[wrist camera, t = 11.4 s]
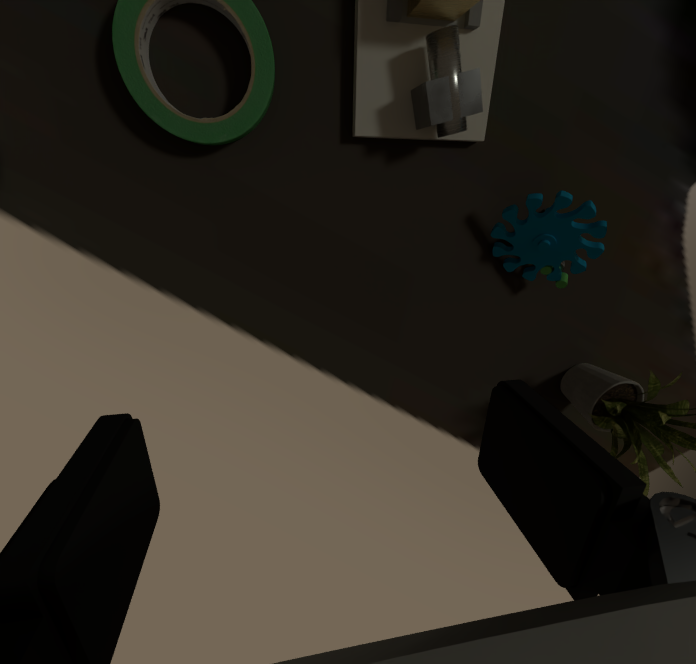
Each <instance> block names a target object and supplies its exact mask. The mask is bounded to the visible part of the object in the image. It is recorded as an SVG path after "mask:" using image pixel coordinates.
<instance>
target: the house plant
mask: <svg viewBox="0 0 696 664" xmlns="http://www.w3.org/2000/svg"><path fill="white" fill-rule="evenodd" d="M650 372H651V371H650ZM681 374H682V373H681ZM681 374H680V375H679V376H678V377H677V378H676V379H675V380H674V381H673V382H671V383H670V384H668V385H666V386H664V387H661V388H660V385H661V384H660V381H659V380H658V378H657V377H656V376H655V375H654V374H653V373H652V372H651V374H650V378H649V384H648V391H647V392H644V391H643V388H642V387H641V386H640V384H638V383H636V382H634V381H632V380H629V379H627V378H624V377H622V376H619V375H616V374H614V373H611V372H609V371H606V370H604V369H601V368H599V367H596V366H593V365H591V364H588V363H581V364H578V365H575V366H573V367H572V368H570V369H569V370H568V371H567V372H566V373H565V375H564V376H563V378H562V380H561V384H560V389H561V392H562V393H563V394H564V395H565V397H566V398H567V399H568V400H569V401H570V402H571V403H572V404H573V405H574V407H575V408H576V409H577V410H578V411H579V412H580V413H581V414H582V415H583V416H584V418H585V419H586V420H587V421H588V422H589V423H590V424H591V425H592V426H593V427H594V428H595V429H596V430H599V431H605V432H608V431H611V433H612V449H611V453H610V454H611V455H612V456H613V457H615V456H616V454H617V452H618V441H617V438H623V440H624V448H623V450H622V451H621V452H620V453H619V454H618V455H617V456H616V457H615V458H618V457H620V456H621V455H622V454H624V453H625V452H626V451H627V450H628V449H629V448H630V446H631V444H633V447H634V450H635V453H636V456H637V458H636V459H635V460H634V462H632V463H630V464H635V463H637V461H638V467H639V475H640V478H641V480H642V481H643V482H644V483H646V484H647V485H646V488H645V490H644V492H643V494H644V495H645V496H646V497H647V495H648V490H649V476H648V467H647V462H646V459H645V455H644V454H643V452H642V450H641V445H642V442H643V443H644V445H645V446H646V447H647V449H648V450H649V451H650V452H651V454H652V455H653V456H654V458H655V459H656V461H657V462H658V464H659V465H660V466H661V468H662V469H663V470H664V471H665V472H666V473H667V474H668V475H669V476H670V477H671V478H672V479H673V480H674V481H675V482H677V483H678V484H679V485H680V486H682V485H681V483H680V482H679V480H678V479H677V478H676V476H675V475H674V473H673V471H672V469H671V468H670V467H669V466H668V464H667V463H666V462H665V461H664V459H663V458H662V457H661V455H662V454H663V453H664V447H663V445H662V444H661V443H660V442H659V441H658V440H657V439H656V438H655V437H654V436H653V435H652V434H650V433H649V432H648V431H647V430H646V429H645V428H643V427H642V426H641V425H643V426H644V427H646V428H647V429H649V430H650V431H651V432H652V433H653V434H654V435H655V436H657V437H658V438H659V439H661V440H662V441H663V442H664V443H665V444H666V445H667V446H668V447H669V448H670V449H671V451H672V453H673V447H672V444H671V442H673V443H676V444H678V445H680V446H682V447H685V448H688V449H691V450H696V438H694V437H692V436H690V435H688V434H686V433H683V432H681V431H678V430H676V429H673V428H671V427H669V426H667V425H664V424H665V423H668V424H673V425H678V426H684V427H689V428H693V429H696V423H688V422H683V421H678V420H672V419H670V418H672V417H681V416H692V415H696V414H687V412H688V411H689V410H693V409H689V402H688V400H683V401H679V402H676V403H673V404H668V405H656V404H649V403H644V402H646V401H649V400H651V399H653V398H654V397H655V396H657V394H658V392H659V389H663V388H666V387H669V386H671V385H673V384H674V383H675V382H676V381H677V380H678V379H679V378H680V376H681ZM644 393H648V397H647V400H645V401H644ZM695 409H696V408H695ZM637 422H638V423H640V424H641V425H639V424H638V423H637ZM670 441H671V442H670ZM676 449H677V448H676ZM677 450H678V449H677ZM678 451H679V450H678ZM679 452H680V451H679ZM680 453H681V452H680ZM681 454H682V453H681ZM682 455H683V454H682ZM683 456H684V455H683ZM685 458H686V457H685ZM686 459H687V458H686ZM687 460H688V459H687ZM688 462H689V463H690V464H691V462H690V461H689V460H688ZM673 463H674V455H673ZM691 465H692V464H691ZM692 467H693V468H694V466H693V465H692ZM694 470H695V471H696V469H695V468H694Z"/></svg>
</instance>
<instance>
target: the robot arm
mask: <svg viewBox="0 0 696 664" xmlns="http://www.w3.org/2000/svg"><path fill="white" fill-rule="evenodd" d="M478 467H479V470H480V472H481V474H482V476H483V477H484V478H485V480H486V481H487V483H488V484H489V486H490V487H491V488H492V490H493V491H494V493H495V494H496V496H497V497H498V499H499V500H500V502H501V503H502V504H503V506H504V507H505V508H506V510H507V512H508V513H509V514H510V516H511V517H512V519H513V520H514V522H515V523H516V525H517V526H518V528H519V529H520V530H521V532H522V533H523V535H524V536H525V538H526V539H527V541H528V542H529V544H530V545H531V546H532V548H533V549H534V551H535V552H536V554H537V555H538V557H539V558H540V559H541V561H542V562H543V564H544V565H545V567H546V568H547V570H548V571H549V572H550V574H551V575H552V577H553V578H554V580H555V581H556V582H557V583H558V585H560V586H561V587H563V588H566V589H567V591H568V592H569V594H570V595H571V596H572V598H573V599H574V601H570V602H565V603H561V604H556V605H551V606H546V607H541V608H536V609H531V610H526V611H522V612H516V613H511V614H507V615H501V616H496V617H492V618H487V619H482V620H477V621H472V622H467V623H463V624H458V625H453V626H449V627H444V628H439V629H434V630H429V631H424V632H419V633H415V634H410V635H405V636H401V637H396V638H391V639H386V640H382V641H377V642H372V643H368V644H362V645H358V646H353V647H348V648H343V649H339V650H334V651H329V652H325V653H320V654H315V655H311V656H306V657H301V658H297V659H292V660H287V661H283V662H278V663H274V664H696V499H694V498H691V497H688V496H686V495H682V494H678V493H674V492H660V493H656V494H654V495H653V496H652V498H651V499H648V498H647V497H646V496H645V495H644V494H643V492H644V490H645V488H646V485H647V484H646V483H644V482H643V481H642V480H641V479H640V478H638V477H637V476H636V475H635V474H634V473H632V472H631V471H630V470H629V469H628V468H626V467H625V466H624V465H623V464H622V463H620V462H619V461H618V460H617V459H616V458H615V457H613V456H612V455H611V454H610V453H609V452H607V451H606V450H605V449H604V448H603V447H601V446H600V445H599V444H598V443H597V442H595V441H594V440H593V439H592V438H591V437H589V436H588V435H587V434H586V433H585V432H583V431H582V430H581V429H580V428H579V427H577V426H576V425H575V424H574V423H573V422H572V421H570V420H569V419H568V418H567V417H566V416H564V415H563V414H562V413H561V412H560V411H558V410H557V409H556V408H555V407H554V406H552V405H551V404H550V403H549V402H548V401H546V400H545V399H544V398H543V397H542V396H540V395H539V394H538V393H537V392H536V391H534V390H533V389H532V388H531V387H530V386H528V385H527V384H526V383H525V382H524V381H522V380H509V381H501V382H499V383H498V384H497V387H494V388H493V389H492V393H491V398H490V403H489V408H488V412H487V417H486V422H485V427H484V432H483V437H482V442H481V447H480V452H479V457H478ZM159 511H160V501H159V496H158V493H157V488H156V484H155V480H154V476H153V472H152V468H151V463H150V459H149V455H148V451H147V447H146V443H145V439H144V435H143V431H142V427H141V423H140V421H139V419H132V417H131V415H130V414H117V415H105V416H101V417H100V418H99V419H98V420H97V421H96V423H95V424H94V426H93V427H92V429H91V430H90V431H89V433H88V434H87V436H86V437H85V439H84V440H83V442H82V443H81V444H80V446H79V447H78V449H77V450H76V451H75V453H74V454H73V456H72V457H71V459H70V460H69V461H68V463H67V464H66V466H65V467H64V469H63V470H62V471H61V473H60V474H59V476H58V477H57V479H55V480H53V481H52V483H50V484H49V486H48V487H47V488H46V490H45V491H44V492H43V494H42V495H41V497H40V498H39V499H38V501H37V502H36V504H35V505H34V506H33V508H32V509H31V511H30V512H29V514H28V515H27V516H26V518H25V519H24V521H23V522H22V523H21V525H20V526H19V528H18V529H17V530H16V532H15V533H14V535H13V536H12V537H11V539H10V540H9V542H8V543H7V545H6V546H5V547H4V549H3V550H2V552H1V553H0V664H110V663H111V660H112V657H113V654H114V651H115V648H116V644H117V642H118V638H119V635H120V632H121V629H122V626H123V623H124V620H125V617H126V614H127V611H128V608H129V605H130V602H131V599H132V596H133V593H134V590H135V587H136V584H137V580H138V577H139V574H140V571H141V568H142V565H143V562H144V559H145V556H146V553H147V550H148V547H149V544H150V541H151V538H152V534H153V532H154V529H155V526H156V523H157V519H158V516H159ZM598 594H599V595H600V596H597V595H598Z"/></svg>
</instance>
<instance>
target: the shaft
mask: <svg viewBox="0 0 696 664" xmlns="http://www.w3.org/2000/svg"><path fill="white" fill-rule="evenodd" d="M426 45H427V53H428V62H429V70H430V78H431V80H430V81H427V82H424V83H423V84H421V85H419V86H417V87H416V88H414V89H412V90H411V97H412V104H413V111H414V118H415V125H416V130H418V129H422V128H426V127H429V126H433V125H436V128H437V136H438V138H439V137H444V136H448V135H452V134H456V133H459V132H463V131H466V130H467V120H466V116H470V115H474V114H477V113H481V112H483V105H482V91H481V77H480V68H477V69H473V70H469V71H465V72H462V64H461V52H460V41H459V30H458V25H451V26H447V27H443V28H440V29H438V30H435V31H433V32H431V33H429V34H428V35H427V36H426Z"/></svg>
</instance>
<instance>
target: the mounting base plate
mask: <svg viewBox="0 0 696 664" xmlns="http://www.w3.org/2000/svg"><path fill="white" fill-rule="evenodd" d="M504 2H505V0H480V1H479V2H478V3H476V4H475V5H474V6H473V7H471V8H470V9H469V10H468V11H467V12H465V13H464V14H463V15H462V16H460V17H459V18H458V19H457V20H456V21H446V20H436V19H425V18H415V17H407V7H408V0H355V35H354V81H353V128H352V137H365V138H391V139H417V140H443V141H469V142H480V141H484V138H485V131H486V125H487V118H488V111H489V104H490V97H491V90H492V84H493V77H494V70H495V63H496V56H497V49H498V43H499V36H500V29H501V22H502V15H503V8H504ZM451 25H458V30H459V41H460V52H461V64H462V72H465V71H469V70H473V69H477V68H480V77H481V91H482V105H483V112H481V113H477V114H474V115H470V116H466V120H467V130H466V131H463V132H459V133H456V134H452V135H448V136H444V137H439V138H438V136H437V128H436V125H433V126H429V127H426V128H422V129H418V130H416V125H415V118H414V111H413V104H412V97H411V90H412V89H414V88H416V87H417V86H419V85H421V84H423V83H424V82H427V81H430V80H431V78H430V70H429V62H428V53H427V45H426V36H427V35H428V34H429V33H431V32H433V31H435V30H438V29H440V28H443V27H447V26H451Z"/></svg>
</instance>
